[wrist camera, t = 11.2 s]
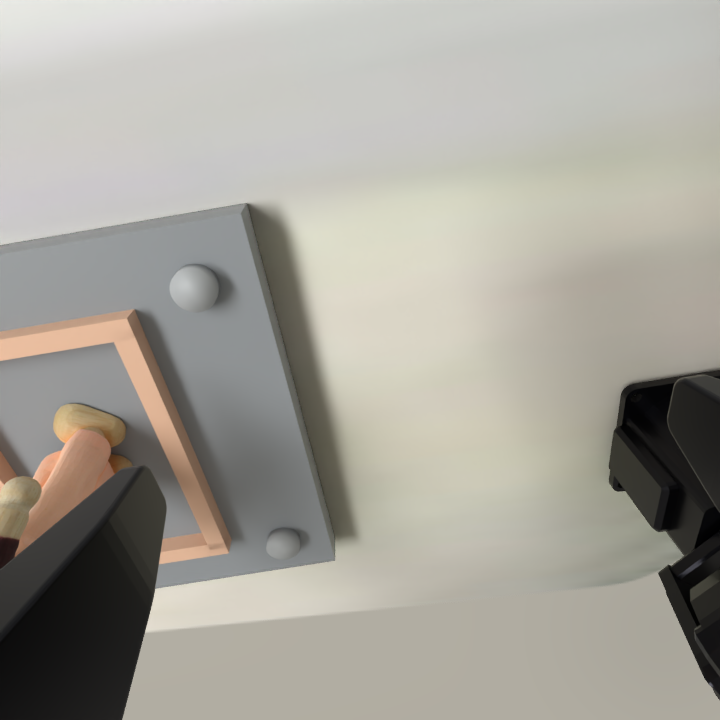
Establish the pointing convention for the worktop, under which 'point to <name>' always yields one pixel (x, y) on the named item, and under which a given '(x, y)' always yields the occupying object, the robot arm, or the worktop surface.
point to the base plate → (168, 383)
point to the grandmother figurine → (60, 477)
